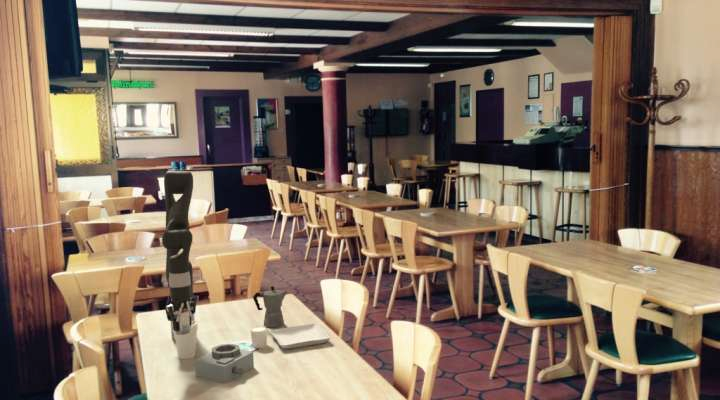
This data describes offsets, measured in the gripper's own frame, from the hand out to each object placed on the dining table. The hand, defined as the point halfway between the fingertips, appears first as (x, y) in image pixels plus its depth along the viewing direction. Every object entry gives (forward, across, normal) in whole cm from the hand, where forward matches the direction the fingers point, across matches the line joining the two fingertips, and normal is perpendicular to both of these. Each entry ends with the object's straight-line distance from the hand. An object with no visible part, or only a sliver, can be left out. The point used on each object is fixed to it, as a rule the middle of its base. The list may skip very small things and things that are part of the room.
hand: (182, 328), depth 232 cm
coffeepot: (+17, -58, -4) cm, 60 cm away
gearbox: (+16, -6, +16) cm, 23 cm away
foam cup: (+17, -12, -11) cm, 23 cm away
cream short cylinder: (+17, -34, +8) cm, 39 cm away
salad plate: (+17, -46, +20) cm, 53 cm away
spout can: (+2, 0, 0) cm, 2 cm away
